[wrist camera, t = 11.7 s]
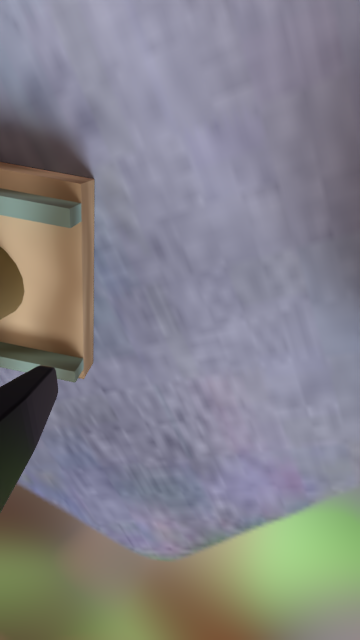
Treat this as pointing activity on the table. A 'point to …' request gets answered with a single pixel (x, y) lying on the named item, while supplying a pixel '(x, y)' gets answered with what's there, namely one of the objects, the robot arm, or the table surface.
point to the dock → (49, 270)
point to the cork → (9, 285)
